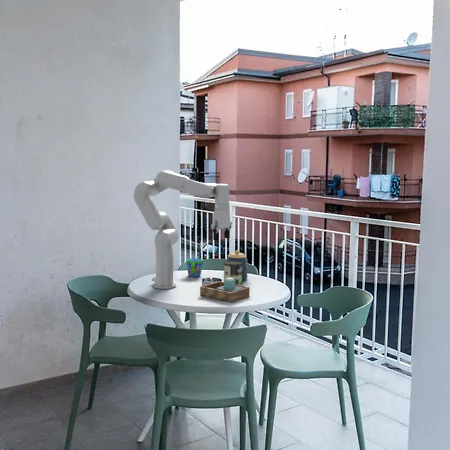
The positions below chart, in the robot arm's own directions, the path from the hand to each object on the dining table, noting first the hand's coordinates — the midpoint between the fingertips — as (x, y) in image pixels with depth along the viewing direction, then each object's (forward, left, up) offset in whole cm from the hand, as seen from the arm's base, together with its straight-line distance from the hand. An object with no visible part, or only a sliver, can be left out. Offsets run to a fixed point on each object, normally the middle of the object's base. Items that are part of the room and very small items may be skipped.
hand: (221, 239), depth 273 cm
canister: (-10, +29, -29) cm, 42 cm away
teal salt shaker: (+11, -7, -27) cm, 30 cm away
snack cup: (-34, +19, -28) cm, 49 cm away
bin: (+8, -7, -28) cm, 30 cm away
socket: (+11, -7, -27) cm, 30 cm away
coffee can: (0, +11, -28) cm, 31 cm away
